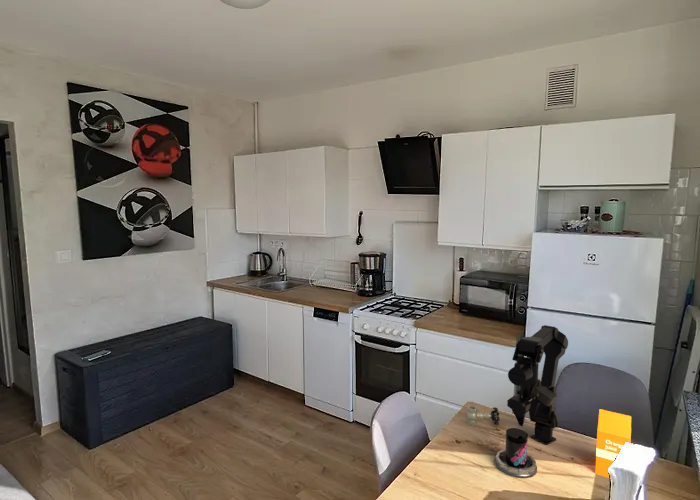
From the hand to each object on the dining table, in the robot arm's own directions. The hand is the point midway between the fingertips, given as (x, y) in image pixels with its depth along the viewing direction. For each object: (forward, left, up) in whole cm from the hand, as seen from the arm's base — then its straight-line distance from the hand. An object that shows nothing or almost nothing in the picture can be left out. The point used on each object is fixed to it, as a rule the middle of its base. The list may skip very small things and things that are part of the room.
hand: (527, 421), depth 143 cm
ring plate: (+7, +1, -13) cm, 15 cm away
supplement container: (+7, +1, -12) cm, 14 cm away
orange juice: (-16, +20, -13) cm, 29 cm away
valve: (-6, -24, -13) cm, 28 cm away
